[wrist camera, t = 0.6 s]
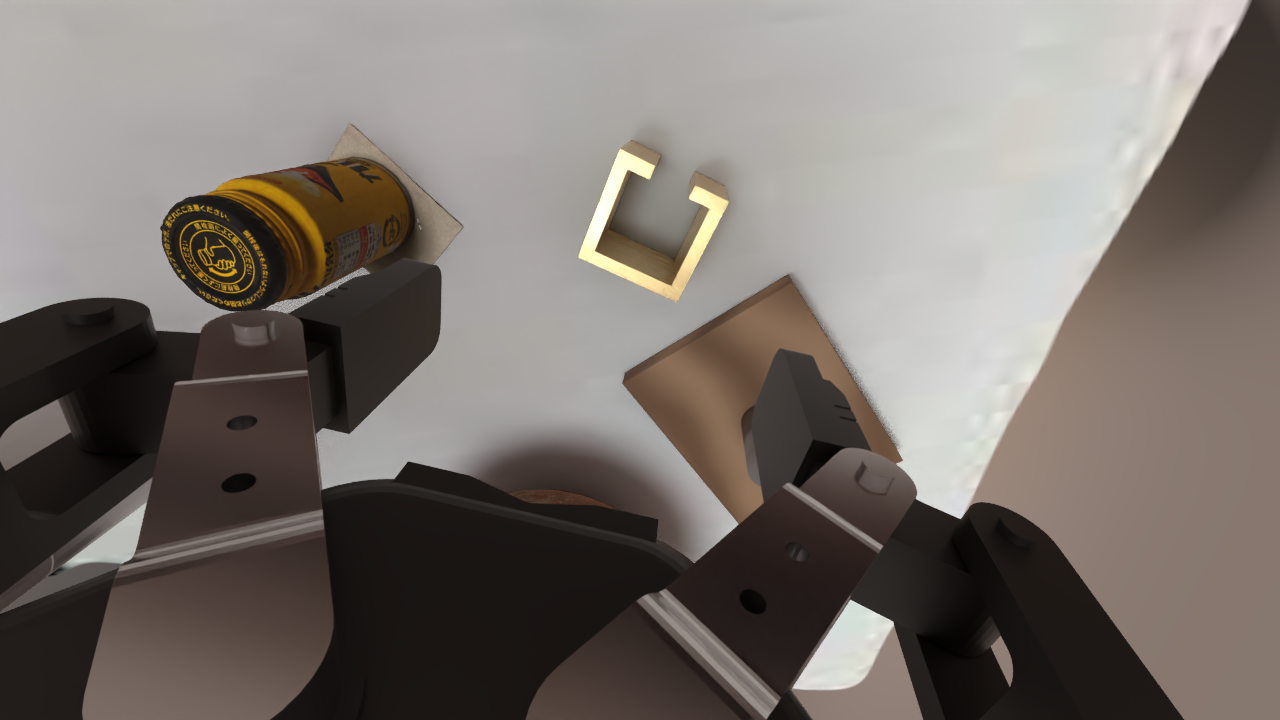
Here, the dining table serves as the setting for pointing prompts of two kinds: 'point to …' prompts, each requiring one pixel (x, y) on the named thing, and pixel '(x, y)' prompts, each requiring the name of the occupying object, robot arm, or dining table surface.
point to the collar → (637, 258)
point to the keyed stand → (739, 389)
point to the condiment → (303, 228)
